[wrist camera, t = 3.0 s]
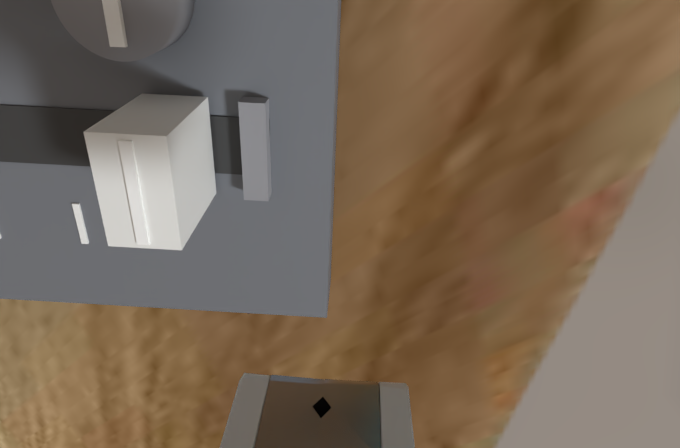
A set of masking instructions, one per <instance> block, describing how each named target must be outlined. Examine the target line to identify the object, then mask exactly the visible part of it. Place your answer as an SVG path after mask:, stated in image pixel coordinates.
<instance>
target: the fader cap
mask: <svg viewBox="0 0 680 448" xmlns="http://www.w3.org/2000/svg"><path fill="white" fill-rule="evenodd" d="M83 133H84V137H85V142H86V146H87V151H88V156H89V160H90V165H91V169H92V174H93V179H94V183H95V188H96V192H97V197H98V202H99V206H100V211H101V215H102V220H103V225H104V229H105V234H106V238H107V243H108V246H113V247H131V248H149V249H166V250H182V249H183V248H184V246H185V244H186V243H187V241H188V239H189V238H190V236H191V234H192V233H193V231H194V229H195V228H196V226H197V224H198V223H199V221H200V219H201V218H202V216H203V214H204V213H205V211H206V209H207V208H208V206H209V205H210V203H211V201H212V200H213V198H214V196H215V195H216V182H215V171H214V160H213V148H212V137H211V126H210V114H209V103H208V97H201V96H181V95H162V94H141V95H139V96H137V97H136V98H134V99H133V100H131V101H130V102H128V103H127V104H125V105H124V106H122V107H121V108H119V109H118V110H116V111H114V112H113V113H111V114H110V115H108V116H107V117H105V118H104V119H102V120H101V121H99V122H98V123H96V124H95V125H93V126H92V127H90V128H88V129H87V130H85V131H84V132H83Z"/></svg>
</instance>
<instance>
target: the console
mask: <svg viewBox="0 0 680 448" xmlns="http://www.w3.org/2000/svg"><path fill="white" fill-rule="evenodd" d="M340 16H341V0H0V298H1V299H18V300H35V301H52V302H69V303H86V304H103V305H120V306H137V307H155V308H172V309H189V310H206V311H223V312H240V313H257V314H274V315H291V316H308V317H325V318H327V311H328V301H329V291H330V280H331V254H332V227H333V201H334V174H335V148H336V122H337V95H338V69H339V42H340ZM141 94H162V95H181V96H201V97H208V103H209V114H210V126H211V137H212V148H213V160H214V171H215V182H216V195H215V196H214V198H213V200H212V201H211V203H210V205H209V206H208V208H207V209H206V211H205V213H204V214H203V216H202V218H201V219H200V221H199V223H198V224H197V226H196V228H195V229H194V231H193V233H192V234H191V236H190V238H189V239H188V241H187V243H186V244H185V246H184V248H183V249H182V250H166V249H149V248H131V247H113V246H108V243H107V238H106V234H105V229H104V225H103V220H102V215H101V211H100V206H99V202H98V197H97V192H96V188H95V183H94V179H93V174H92V169H91V165H90V160H89V156H88V151H87V146H86V142H85V137H84V133H83V132H84V131H85V130H87V129H88V128H90V127H92V126H93V125H95V124H96V123H98V122H99V121H101V120H102V119H104V118H105V117H107V116H108V115H110V114H111V113H113V112H114V111H116V110H118V109H119V108H121V107H122V106H124V105H125V104H127V103H128V102H130V101H131V100H133V99H134V98H136V97H137V96H139V95H141Z"/></svg>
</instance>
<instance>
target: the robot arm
mask: <svg viewBox="0 0 680 448" xmlns="http://www.w3.org/2000/svg"><path fill="white" fill-rule="evenodd" d="M220 448H415V446H414V437H413V427H412V418H411V408H410V399H409V390H408V386H407V385H406V383H390V382H379V383H378V382H371V381H352V380H333V379H325V380H324V379H312V378H301V377H289V376H278V375H260V374H249V373H244V374H243V376H242V377H241V379H240V381H239V384H238V388H237V391H236V395H235V398H234V401H233V405H232V408H231V411H230V415H229V418H228V421H227V425H226V428H225V432H224V435H223V438H222V442H221V445H220Z"/></svg>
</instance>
